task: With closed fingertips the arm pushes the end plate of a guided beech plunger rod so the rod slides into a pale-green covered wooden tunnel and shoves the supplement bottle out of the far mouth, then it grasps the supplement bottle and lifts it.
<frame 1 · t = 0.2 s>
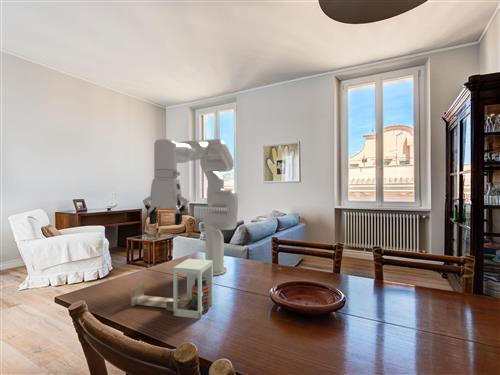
hand: (165, 224, 92), 31 cm above the table, tool pointing down, fingers open, 9 cm apart
rod: (161, 297, 97), point 3 cm above the table, slide at 0.0 cm
tunnel: (194, 309, 94), on the table
supplement bottle: (200, 311, 94), on the table
guide: (173, 307, 96), on the table
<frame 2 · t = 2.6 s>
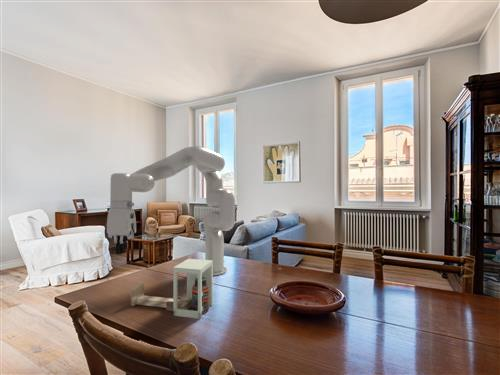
hand: (120, 253, 101), 19 cm above the table, tool pointing down, fingers closed
nothing on the table moved.
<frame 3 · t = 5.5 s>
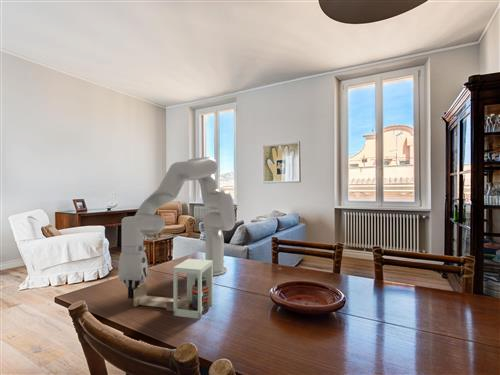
hand: (132, 297, 100), 2 cm above the table, tool pointing down, fingers closed
rod: (164, 297, 97), point 3 cm above the table, slide at 1.2 cm, touching gripper
everything else where it was.
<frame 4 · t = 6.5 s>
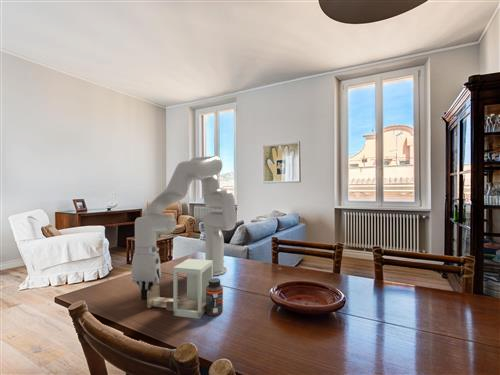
hand: (145, 298, 99), 2 cm above the table, tool pointing down, fingers closed
rod: (178, 298, 96), point 3 cm above the table, slide at 6.8 cm, touching supplement bottle, gripper
supplement bottle: (214, 312, 92), on the table, touching rod
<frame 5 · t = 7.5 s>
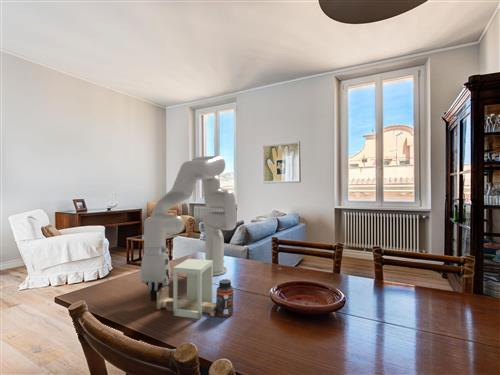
hand: (155, 299, 98), 2 cm above the table, tool pointing down, fingers closed
rod: (188, 300, 95), point 3 cm above the table, slide at 10.7 cm, touching supplement bottle, gripper
supplement bottle: (225, 314, 91), on the table, touching rod
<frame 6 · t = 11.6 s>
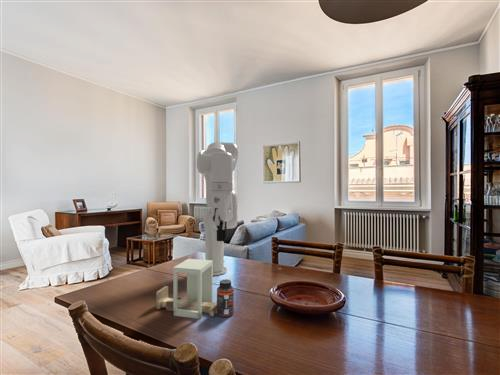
hand: (221, 240, 92), 25 cm above the table, tool pointing down, fingers closed
rod: (188, 299, 95), point 3 cm above the table, slide at 10.5 cm
supplement bottle: (225, 314, 91), on the table
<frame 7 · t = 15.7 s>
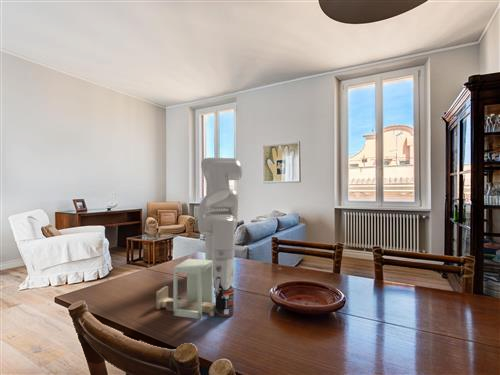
hand: (223, 304, 92), 3 cm above the table, tool pointing down, fingers closed on supplement bottle, 6 cm apart
supplement bottle: (225, 314, 91), on the table, touching gripper
everything else where it was.
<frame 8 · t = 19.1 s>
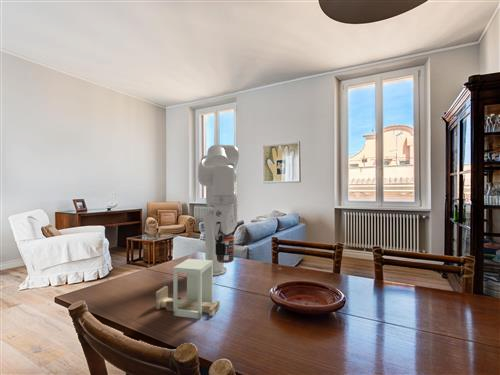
hand: (223, 252, 92), 21 cm above the table, tool pointing down, fingers closed on supplement bottle, 6 cm apart
supplement bottle: (225, 261, 92), point 18 cm above the table, touching gripper
everything else where it was.
at the end: supplement bottle inside the target area (0.5 cm from its centre), point 18.0 cm above the table; the gripper is holding supplement bottle; rod slide at 10.4 cm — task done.
